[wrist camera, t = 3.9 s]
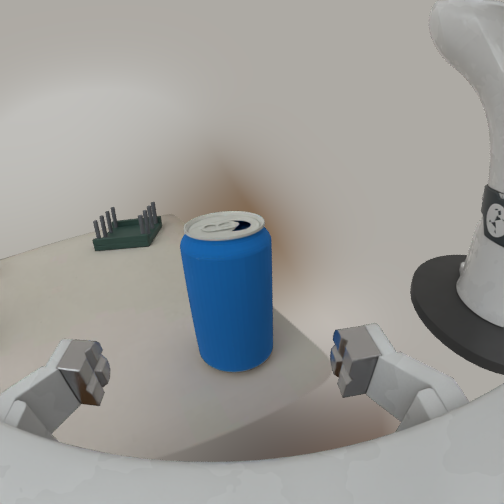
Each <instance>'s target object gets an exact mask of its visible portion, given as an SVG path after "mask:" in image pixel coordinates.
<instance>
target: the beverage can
mask: <svg viewBox="0 0 504 504" xmlns="http://www.w3.org/2000/svg"><path fill="white" fill-rule="evenodd" d="M264 223H265V222H264V219H263V218H262V217H261V216H259V215H257V214H254V213H249V212H240V211H226V212H216V213H211V214H206V215H202V216H199V217H196V218H194V219H192V220H190V221H189V222H187V223H186V224H185V225H184V233H185V235H184V236H183V238H182V240H181V244H180V249H181V256H182V262H183V268H184V274H185V280H186V285H187V291H188V297H189V302H190V307H191V312H192V317H193V322H194V327H195V332H196V337H197V342H198V346H199V351H200V355H201V357H202V358H203V360H204V361H205V362H206V363H207V364H208V365H210V366H211V367H213V368H215V369H218V370H221V371H226V372H241V371H246V370H250V369H253V368H255V367H257V366H259V365H260V364H262V363H263V362H264V361H265V360H266V359H267V358H268V357H269V356H270V354H271V352H272V349H273V305H272V251H271V250H272V249H271V236H270V234H269V232H268V231H267V230H266V228H265V227H264Z"/></svg>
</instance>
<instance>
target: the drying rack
mask: <svg viewBox="0 0 504 504" xmlns="http://www.w3.org/2000/svg"><path fill="white" fill-rule="evenodd" d="M151 207H152V210H151ZM147 210H148V215H147V211H146V210H144V211H143V216H144V218H143V216H142V215H139V216H138V218H137V219H129V220H120V221H117V219H116V214H115V208H114V207H112V208H111V212H112V217H113V222H112V224H111V219H110V214H109V211H106V212H105V213H106V218H107V223H108V228H109V232H108V233H107V231H106V226H105V221H104V217H103V216H100V222H101V226H102V231H103V235H104V237H103V238H101V236H100V231H99V227H98V222H97V220H95V221H94V222H93V223H94V228H95V232H96V237H97V238H96V239H93V244H94V248H95V251H100V250H111V249H122V248H134V247H146V246H150V244H151V242H152V241H153V239H154V238H155V236H156V235H157V233H158V231H159V230H160V228H161V227H162V222H161V216H157V215H156V208H155V202H151V206H147ZM152 214H153V216H152ZM112 227H113V228H112Z"/></svg>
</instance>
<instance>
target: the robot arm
mask: <svg viewBox="0 0 504 504" xmlns="http://www.w3.org/2000/svg"><path fill="white" fill-rule="evenodd" d="M429 30H430V34H431V38H432V40H433V43H434V45H435V47H436V48H437V50H438V51H439V53H440V54H441V56H442V57H443V58H444V59H445V60H446V61H447V62H448V63H449V64H450V65H451V66H452V67H453V68H455V69H456V70H457V71H459V72H460V73H461V74H462V75H463V76H464V77H465V78H466V80H467V81H468V82H469V83H470V85H471V86H472V87H473V89H474V90H475V92H476V93H477V95H478V97H479V99H480V101H481V103H482V105H483V107H484V110H485V113H486V117H487V121H488V127H489V136H490V169H489V180H488V184H487V185H486V186H485V189H484V194H483V197H482V200H483V202H482V208H481V212H482V214H483V217H482V219H481V220H480V221H479V222H478V223H477V225H476V229H475V232H474V235H473V239H472V242H471V245H470V248H469V251H468V254H467V257H466V260H465V262H462V263H461V265H460V268H459V272H460V277H459V279H458V281H457V284H456V289H457V292H458V295H459V296H460V298H461V300H462V301H463V302H464V303H465V304H466V305H467V306H468V307H469V308H470V309H471V310H472V311H473V312H474V313H476V314H477V315H479V316H480V317H482V318H483V319H485V320H487V321H489V322H491V323H493V324H495V325H498V326H500V327H503V328H504V2H500V1H494V0H438V1H437V2H436V3H435V4H434V5H433V7H432V9H431V12H430V15H429ZM333 341H334V343H335V345H334V346H333V348H332V349H331V355H330V362H331V367H332V371H333V374H334V375H336V376H337V377H339V379H338V383H337V384H338V386H339V389H340V392H341V394H342V397H343V398H345V397H350V396H356V395H361V394H366V395H367V396H368V397H369V398H371V399H372V400H373V401H375V402H376V403H377V404H379V405H380V406H381V407H382V408H384V409H385V410H386V411H388V412H389V413H390V414H391V415H393V416H394V417H395V418H397V419H398V420H399V421H401V423H400V425H399V427H398V429H397V430H396V432H395V433H392V434H390V435H386V436H383V437H379V438H376V439H372V440H369V441H365V442H361V443H357V444H354V445H349V446H345V447H341V448H336V449H332V450H326V451H321V452H316V453H311V454H304V455H297V456H291V457H283V458H274V459H264V460H252V461H234V462H233V461H232V462H186V461H167V460H156V459H146V458H137V457H130V456H123V455H116V454H111V453H105V452H100V451H95V450H90V449H86V448H81V447H77V446H73V445H69V444H65V443H62V442H58V440H57V439H56V438H55V437H54V436H53V435H52V433H53V432H54V431H55V430H56V429H57V428H58V427H59V426H60V425H61V424H62V423H63V422H64V421H65V420H66V419H67V418H68V417H69V416H70V415H71V414H72V413H73V412H74V411H75V410H76V409H77V408H78V407H79V406H80V405H81V404H87V405H96V406H100V404H101V401H102V399H103V396H104V393H105V392H104V390H103V387H104V386H105V385H107V384H108V382H109V379H110V366H109V363H108V360H107V359H106V358H105V357H104V356H103V355H102V354H101V353H102V351H103V349H102V347H101V345H100V343H99V342H97V341H87V340H76V339H75V340H73V339H63V340H61V341H60V343H59V344H58V346H57V348H56V349H55V351H54V352H53V354H52V356H51V357H50V359H49V361H48V362H47V364H46V366H45V367H43V366H42V367H40V368H39V369H37V370H36V371H34V372H33V373H31V374H29V375H28V376H26V377H25V378H23V379H22V380H20V381H19V382H17V383H16V384H14V385H13V386H11V387H10V388H8V389H7V390H5V391H3V392H2V393H1V394H0V504H504V383H503V384H502V385H500V386H498V387H497V388H495V389H493V390H491V391H490V392H488V393H486V394H484V395H482V396H480V397H478V398H476V399H475V400H473V401H471V402H469V401H468V399H467V397H466V396H465V394H464V393H463V392H462V390H461V389H460V387H459V386H458V384H457V383H456V381H455V380H454V378H452V377H450V376H448V375H446V374H444V373H442V372H440V371H438V370H436V369H434V368H432V367H430V366H428V365H426V364H424V363H422V362H420V361H418V360H416V359H414V358H412V357H410V356H408V355H406V354H404V353H402V352H396V351H395V349H394V348H393V346H392V345H391V343H390V342H389V340H388V338H387V337H386V335H385V334H384V332H383V331H382V330H381V328H380V327H379V325H378V324H376V323H373V324H368V325H363V326H358V327H351V328H345V329H338V330H335V332H334V335H333Z"/></svg>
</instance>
